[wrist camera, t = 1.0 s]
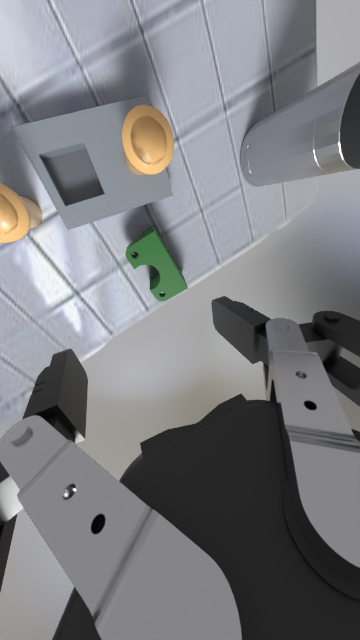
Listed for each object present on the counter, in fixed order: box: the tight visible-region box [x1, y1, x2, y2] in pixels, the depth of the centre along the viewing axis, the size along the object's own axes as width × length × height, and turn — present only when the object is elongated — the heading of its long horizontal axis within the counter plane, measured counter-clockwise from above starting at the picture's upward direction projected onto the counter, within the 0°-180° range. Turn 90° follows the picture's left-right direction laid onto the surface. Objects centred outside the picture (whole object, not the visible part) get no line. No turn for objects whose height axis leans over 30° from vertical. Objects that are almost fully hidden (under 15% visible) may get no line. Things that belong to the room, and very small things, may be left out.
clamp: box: [126, 226, 188, 301], centre depth 35 cm, size 12×6×9 cm, turn 25°
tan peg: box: [0, 183, 42, 243], centre depth 23 cm, size 6×6×10 cm
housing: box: [12, 95, 174, 230], centre depth 24 cm, size 16×11×10 cm, turn 107°
